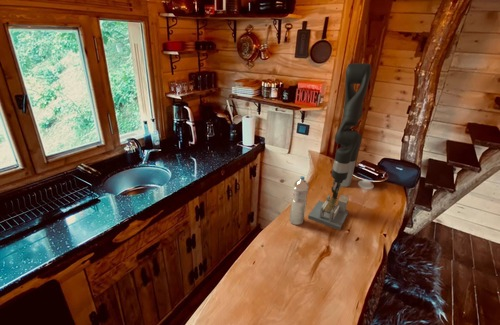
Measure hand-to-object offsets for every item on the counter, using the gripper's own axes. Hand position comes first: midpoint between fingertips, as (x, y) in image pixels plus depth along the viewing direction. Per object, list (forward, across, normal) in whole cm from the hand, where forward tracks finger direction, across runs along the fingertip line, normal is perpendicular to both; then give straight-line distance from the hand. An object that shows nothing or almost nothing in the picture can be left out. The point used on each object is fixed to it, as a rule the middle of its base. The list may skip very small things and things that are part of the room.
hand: (334, 197), depth 142 cm
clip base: (+7, +7, 0) cm, 10 cm away
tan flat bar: (+1, +7, 0) cm, 7 cm away
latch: (0, +1, +5) cm, 5 cm away
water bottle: (+7, +21, -12) cm, 25 cm away
